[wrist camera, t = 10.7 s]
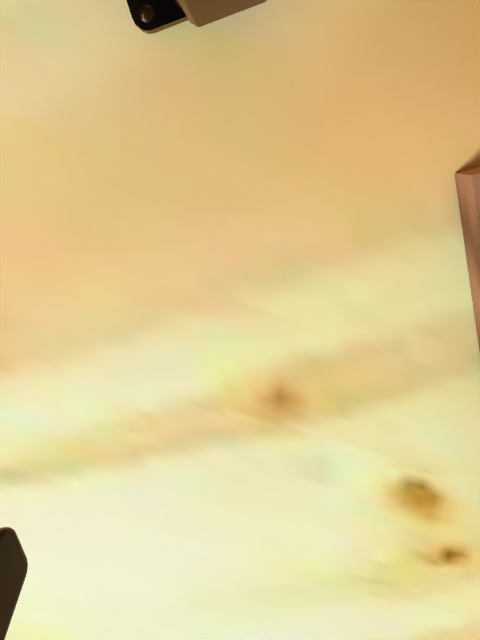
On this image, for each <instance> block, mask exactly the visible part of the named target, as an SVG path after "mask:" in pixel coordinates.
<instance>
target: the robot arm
mask: <svg viewBox="0 0 480 640" xmlns="http://www.w3.org/2000/svg"><path fill="white" fill-rule="evenodd" d="M266 1H267V0H127V3H128V6H129V9H130V12H131V15H132V18H133V20H134V22H135V24H136V25H137V26H138V27H139V28H140V29H141V30H142V31H143V32H145V33H148V34H151V33H156V32H158V31H161V30H164V29H166V28H169V27H171V26H174V25H177V24H179V23H182V22H184V21H187V20H189V21H190V22H191V23H192V24H194V25H196V26H197V27H201V26H203V25H206V24H208V23H211V22H214V21H216V20H219V19H222V18H224V17H227V16H229V15H232V14H235V13H237V12H240V11H242V10H245V9H248V8H250V7H253V6H256V5H258V4H261V3H263V2H266ZM149 8H151V9H152V10H153V11H154V17H153V19H152V20H151V21H150V22H144V21H143V20H142V14H143V11H144V10H145V9H149ZM27 567H28V563H27V558H26V555H25V553H24V551H23V548H22V546H21V544H20V541H19V539H18V537H17V534H16V532H15V531H14V530H13V529H12V528H9V527H3V528H0V640H4V639H5V636H6V633H7V630H8V627H9V625H10V622H11V619H12V616H13V613H14V610H15V607H16V604H17V601H18V598H19V595H20V592H21V589H22V586H23V583H24V580H25V577H26V573H27Z"/></svg>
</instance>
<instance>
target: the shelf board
mask: <svg viewBox="0 0 480 640" xmlns="http://www.w3.org/2000/svg"><path fill="white" fill-rule="evenodd" d="M455 179H456V186H457V193H458V200H459V207H460V214H461V222H462V229H463V236H464V243H465V250H466V257H467V264H468V271H469V279H470V286H471V293H472V300H473V307H474V314H475V321H476V328H477V335H478V343H479V350H480V166H478V167H475V168H472V169H469V170H465V171H462V172H459V173H455Z"/></svg>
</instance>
